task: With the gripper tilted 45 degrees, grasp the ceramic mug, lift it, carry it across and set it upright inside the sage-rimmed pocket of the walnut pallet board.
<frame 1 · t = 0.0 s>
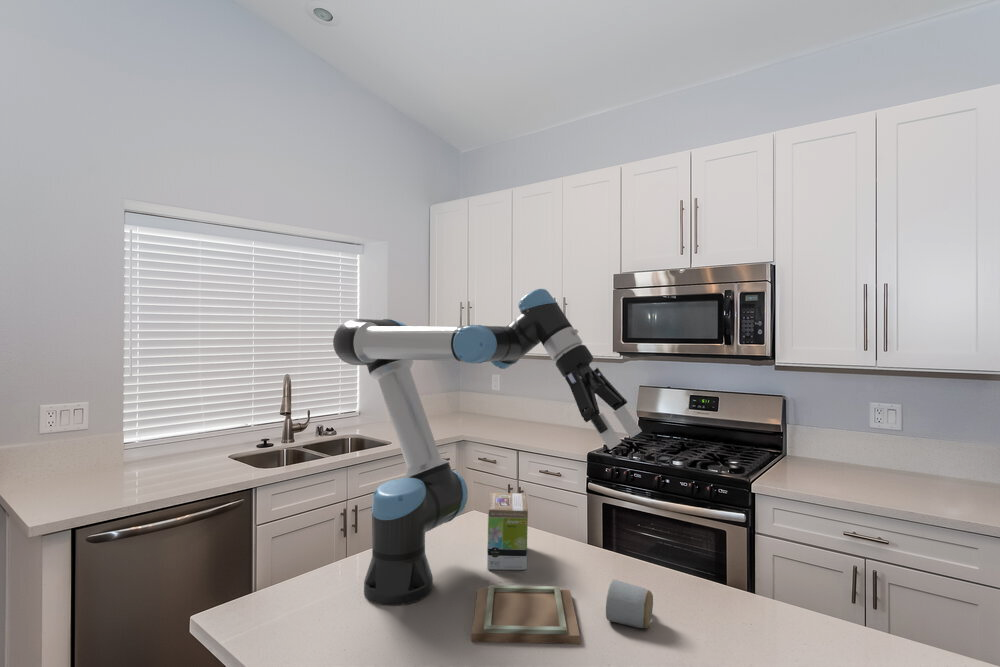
hand: (626, 440, 108), 36 cm above the counter, tool tilted 35°, fingers open, 13 cm apart
ceramic mug: (629, 620, 108), on the counter
tea box: (507, 558, 138), on the counter
pallet board: (524, 617, 109), on the counter
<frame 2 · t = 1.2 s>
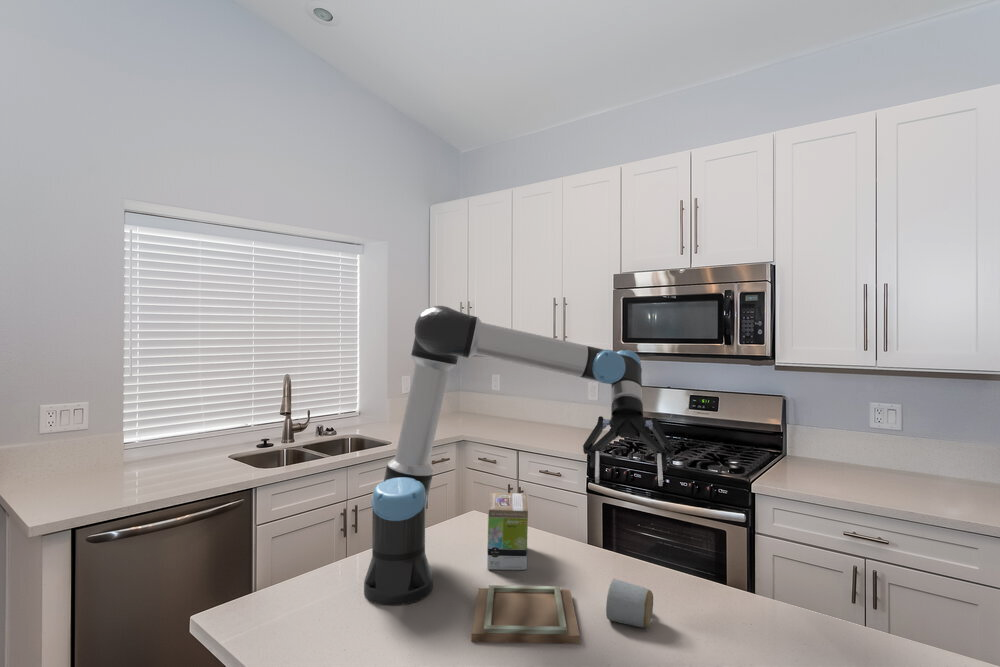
hand: (628, 481, 118), 25 cm above the counter, tool tilted 45°, fingers open, 13 cm apart
nothing on the counter moved.
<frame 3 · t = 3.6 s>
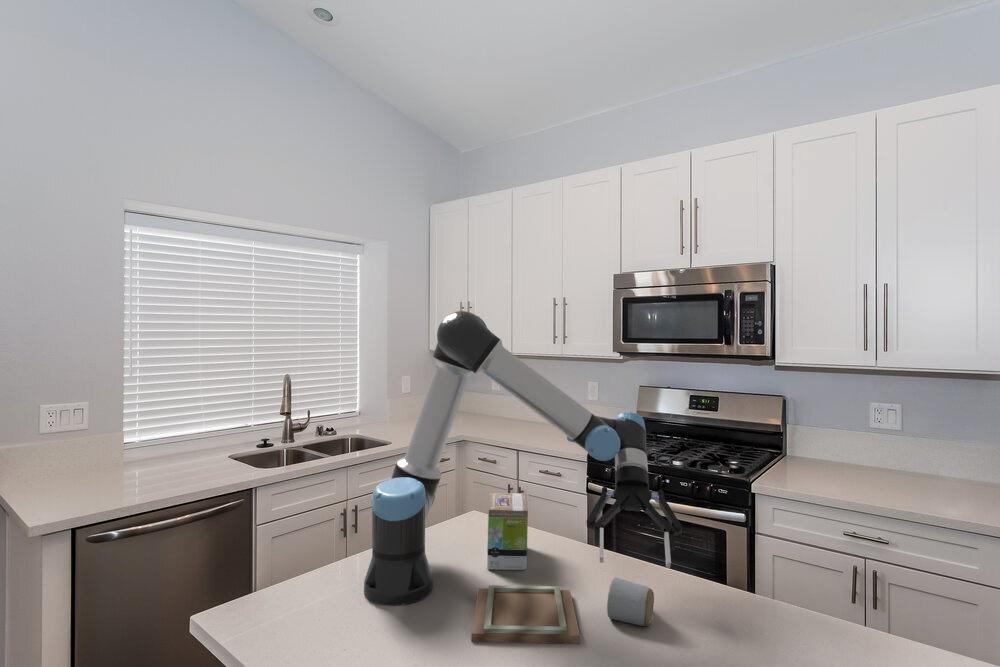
hand: (634, 562, 113), 9 cm above the counter, tool tilted 45°, fingers open, 13 cm apart
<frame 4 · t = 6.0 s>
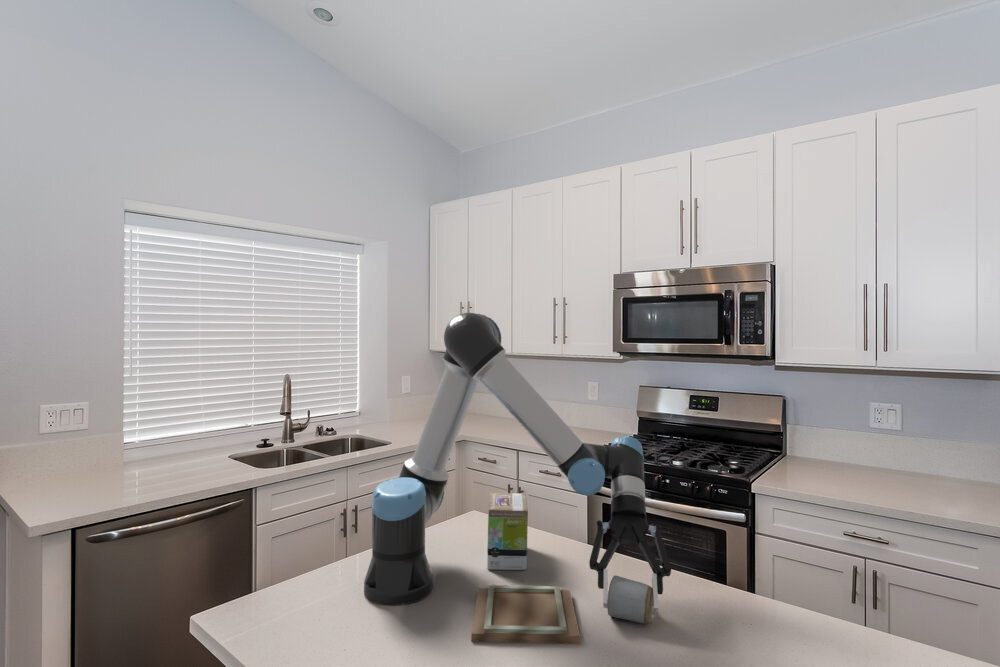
hand: (630, 608, 105), 4 cm above the counter, tool tilted 45°, fingers closed on ceramic mug, 9 cm apart
ceramic mug: (630, 616, 110), on the counter, touching gripper
everything else where it was.
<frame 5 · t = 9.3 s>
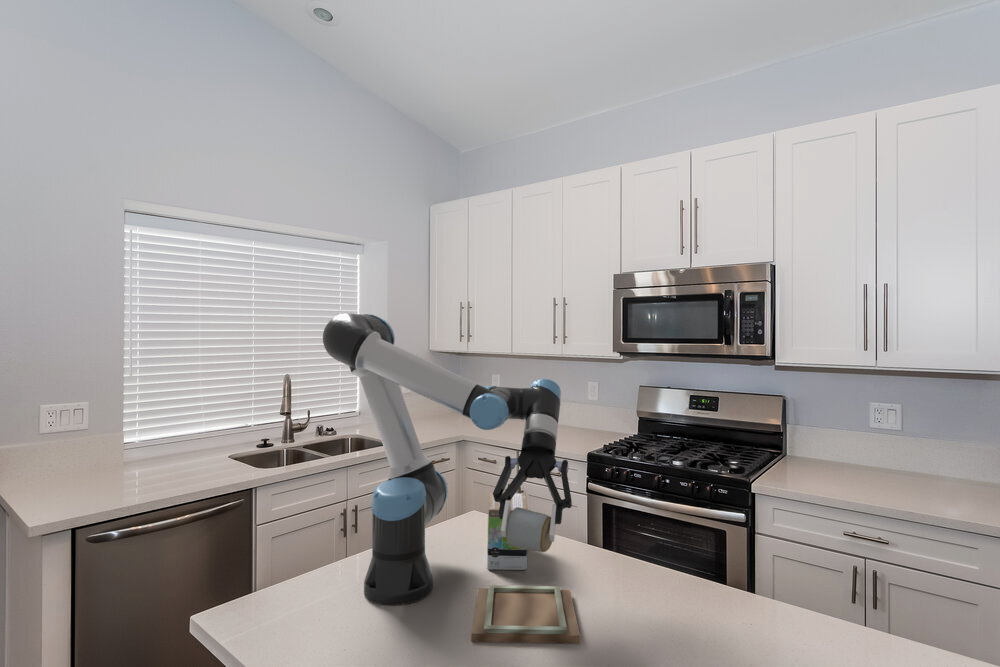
hand: (527, 536, 106), 18 cm above the counter, tool tilted 45°, fingers closed on ceramic mug, 9 cm apart
ceramic mug: (531, 546, 111), point 13 cm above the counter, touching gripper
everything else where it was.
when the fingers open (6 cm above the counter, at t = 12.5 s): ceramic mug stays where it is, resting on pallet board.
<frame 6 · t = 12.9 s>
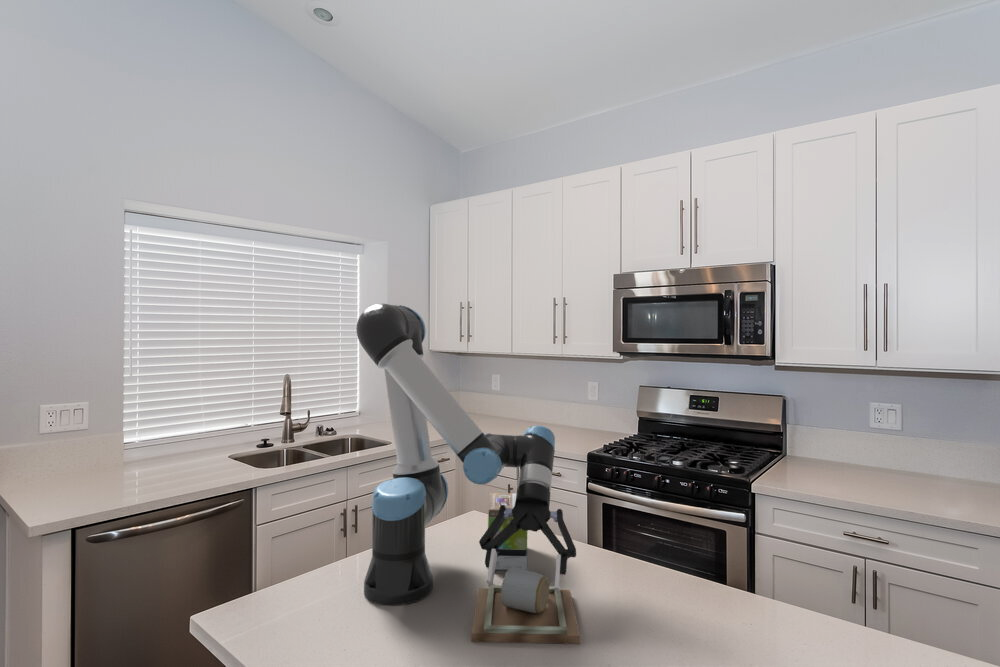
hand: (522, 587, 107), 7 cm above the counter, tool tilted 45°, fingers open, 13 cm apart
ceramic mug: (526, 606, 111), point 1 cm above the counter, touching pallet board
everything else where it was.
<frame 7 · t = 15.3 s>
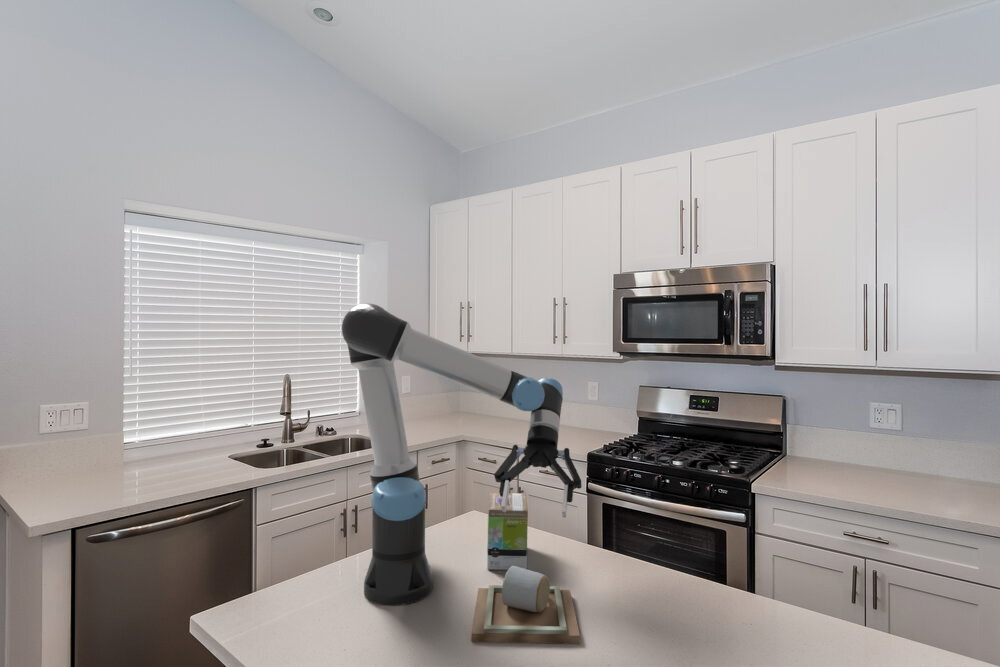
hand: (533, 512, 120), 18 cm above the counter, tool tilted 45°, fingers open, 13 cm apart
nothing on the counter moved.
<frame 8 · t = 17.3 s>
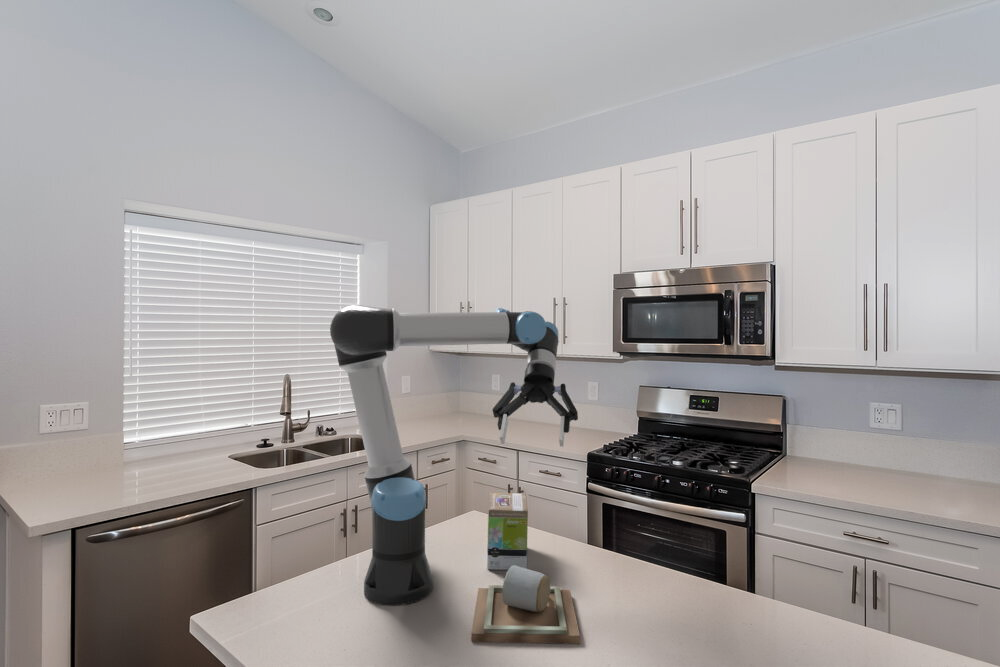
hand: (531, 441, 123), 33 cm above the counter, tool tilted 45°, fingers open, 13 cm apart
nothing on the counter moved.
at the end: ceramic mug 2.4 cm off-centre on the pallet board, point 1.3 cm above the pallet board's base; ceramic mug tilted 0°; the gripper is holding nothing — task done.
